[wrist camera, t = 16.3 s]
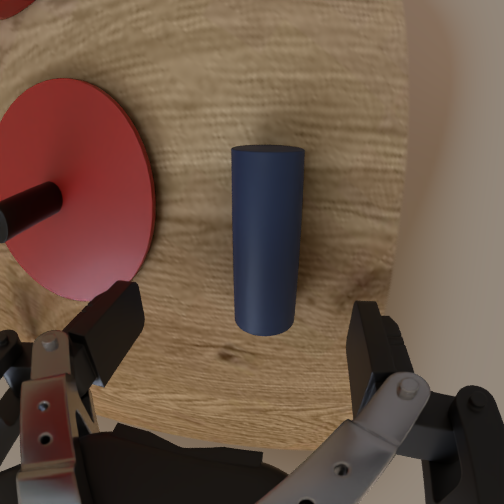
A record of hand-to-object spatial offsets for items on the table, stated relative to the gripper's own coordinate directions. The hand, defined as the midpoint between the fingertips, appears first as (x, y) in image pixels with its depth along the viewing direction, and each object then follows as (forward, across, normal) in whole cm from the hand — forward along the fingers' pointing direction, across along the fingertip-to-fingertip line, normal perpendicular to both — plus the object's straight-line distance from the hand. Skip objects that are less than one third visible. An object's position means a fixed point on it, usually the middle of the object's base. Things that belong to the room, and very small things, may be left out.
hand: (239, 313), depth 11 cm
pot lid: (+8, +15, -2) cm, 17 cm away
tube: (+8, 0, 0) cm, 9 cm away
